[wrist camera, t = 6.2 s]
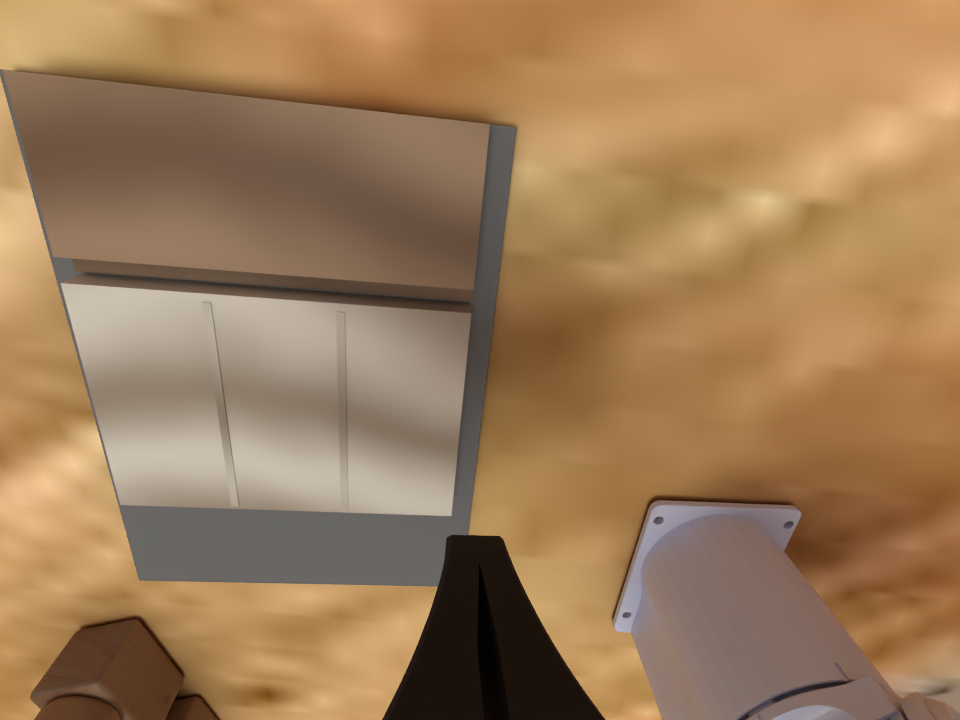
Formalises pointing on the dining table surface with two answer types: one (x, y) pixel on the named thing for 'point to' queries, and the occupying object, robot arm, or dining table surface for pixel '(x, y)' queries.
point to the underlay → (327, 535)
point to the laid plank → (252, 188)
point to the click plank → (273, 394)
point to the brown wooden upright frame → (114, 679)
